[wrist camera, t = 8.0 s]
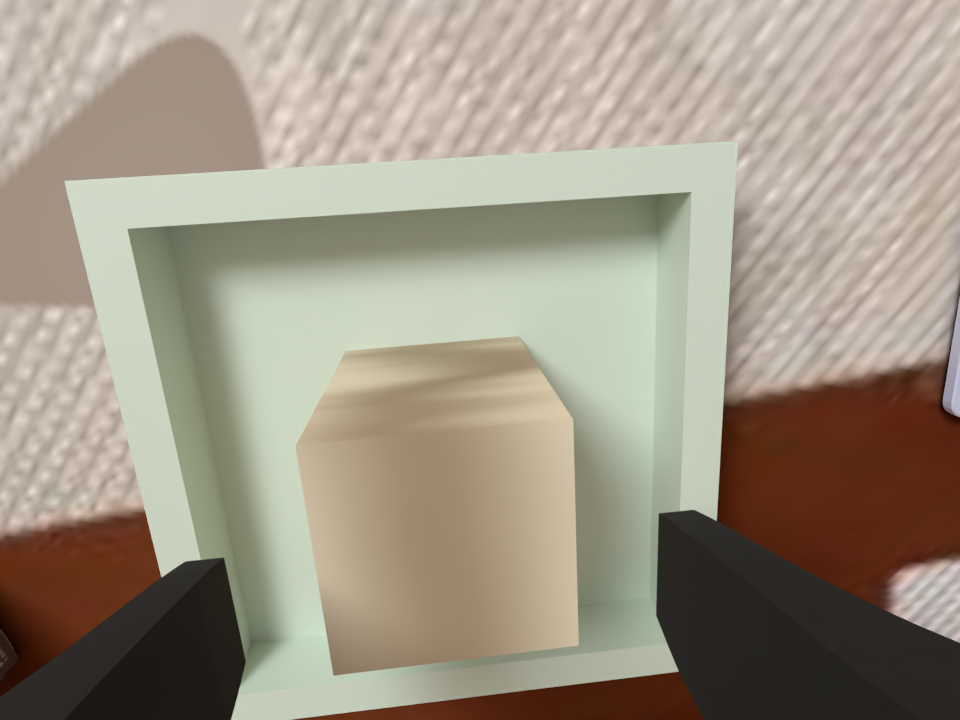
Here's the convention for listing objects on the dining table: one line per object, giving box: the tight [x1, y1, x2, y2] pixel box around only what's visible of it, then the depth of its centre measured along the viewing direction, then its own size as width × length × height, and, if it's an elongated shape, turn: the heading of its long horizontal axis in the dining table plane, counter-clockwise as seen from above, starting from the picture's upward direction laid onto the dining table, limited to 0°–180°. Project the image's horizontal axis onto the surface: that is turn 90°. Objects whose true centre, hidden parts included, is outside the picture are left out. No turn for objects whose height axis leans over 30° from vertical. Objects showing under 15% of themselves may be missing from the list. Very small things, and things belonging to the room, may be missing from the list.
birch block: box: [295, 336, 579, 676], centre depth 13 cm, size 4×4×6 cm
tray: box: [65, 141, 738, 720], centre depth 15 cm, size 14×14×2 cm
